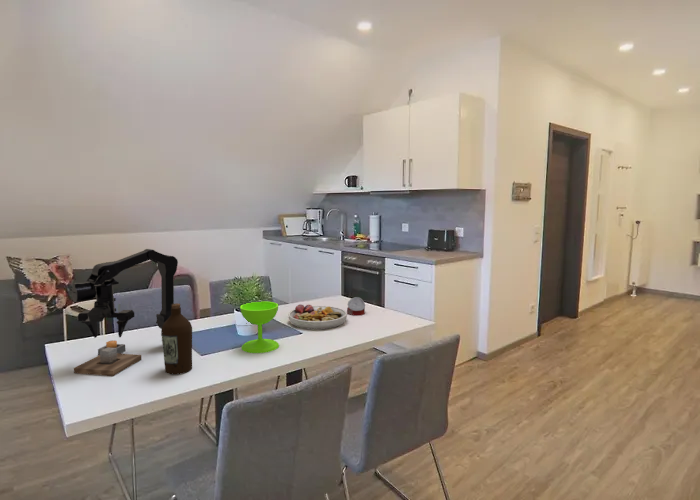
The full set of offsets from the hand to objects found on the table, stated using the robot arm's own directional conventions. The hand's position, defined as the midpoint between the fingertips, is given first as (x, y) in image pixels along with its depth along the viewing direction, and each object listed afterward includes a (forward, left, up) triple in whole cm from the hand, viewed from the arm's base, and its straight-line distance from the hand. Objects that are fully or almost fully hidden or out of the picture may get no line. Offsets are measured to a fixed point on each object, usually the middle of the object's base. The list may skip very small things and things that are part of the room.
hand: (107, 337), depth 164 cm
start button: (+7, -10, -9) cm, 15 cm away
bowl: (-66, -68, -11) cm, 96 cm away
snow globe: (-83, -88, -11) cm, 122 cm away
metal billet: (-1, +2, -10) cm, 10 cm away
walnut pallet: (-1, +2, -11) cm, 11 cm away
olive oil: (-29, +1, -11) cm, 31 cm away
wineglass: (-50, -28, -11) cm, 59 cm away
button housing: (+7, -10, -11) cm, 17 cm away
